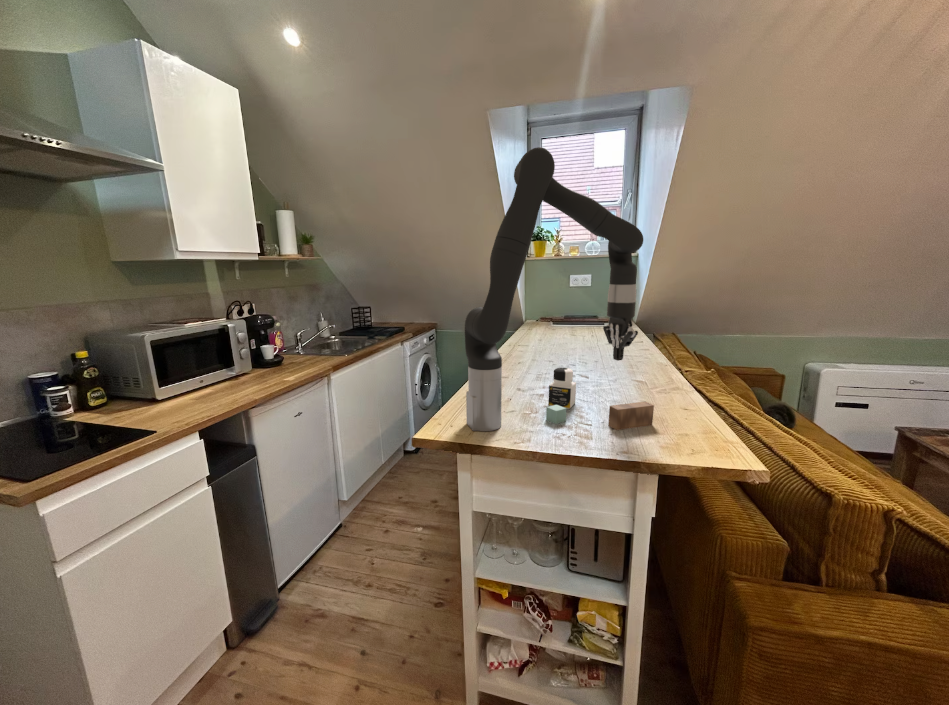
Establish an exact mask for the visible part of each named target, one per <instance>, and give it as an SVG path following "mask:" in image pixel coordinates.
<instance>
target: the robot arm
mask: <svg viewBox="0 0 949 705" xmlns="http://www.w3.org/2000/svg"><path fill="white" fill-rule="evenodd" d="M555 170H556V169H555V160H554V157H553V155H552V153H551V152H550V150H548V149H547V148H545V147H542V146H541V147H538V146H537V147H534V148H531V149H530V150H528V151H527V152H525V154H524V155H523V156H522V157H521V158H520V160H519V161H518V163H517V164H516V166H515V168H514V172H513V179H514V182H515V185H516V187H515V190H514V195H513V197H512V201H511V203H510V205H509V207H508V209H507V211H506V213H505V215H504V217H503V219H502V221H501V223H500V226H499V229H498V230H497V233H496V235H495V236H496V237H495V239H494V243H493V246H492V249H491V253H490V258H489V273H490V275H489V276H490V277H489V288H488V292H487V295H486V299H485V302H484V305H483V306H479V307H474V308H473V309H471V310H470V311H469V312H468V313H467V315H466V318H465V321H464V345H465V349H464V350H465V356H466V358H467V362H468V364H467V366H468V367H467V370H468V372H467V374H468V380H467V381H468V382H467V384H468V391H466V392H465V393H466V396H465V398H466V400H465V401H466V405H465V406H466V407H465V408H466V411H465V412H466V415H465V416H466V425H467V426H468V427H469V428H470V429H471V431H473V432H475V431H479V432H480V431H481V432H491V431H496V430H498V429H500V428H501V426H502V384H503V383H502V382H503V381H502V378H503V377H502V372H503V369H502V368H503V359H502V355H501V354H500V353H499V350H498V348H497V344H498V343H499V342H500V341H502V339H503V338H504V336H505V334H506V333H507V329H508V326H509V322H510V316H511V311H512V306H513V301H514V298H515V294H516V291H517V287H518V284H519V282H520V277H521V274H522V271H523V268H524V265H525V263H526V259H527V256H528V253H529V250H530V246H531V242H532V239H533V235H534V232H535V228H536V224H537V220H538V216H539V211H540V208H541V206H542V202H544V203H546V204H548V205H550V206H551V207H553V208H555V209H556V210H559V211H560V212H561V213H563V214H565V215H567V217H569V218H570V219H572V220H574V221H575V222H576V223H577V224H579V225H580V226H582V227H583V228H584V229H585V230H587V231H588V232H590V233H591V234H592V235H594V236H596V237H598V238H599V237H600V238H603V239H606V241H608V242H607V244H608V245H607V251H608V252H607V253H608V260H609V267H610V273H609V286H608V292H607V306H606V316H607V317H608V318H609V320H608V323H607V325H603V327H602V329H603V331H604V335H605V337H606V340H607V342H608V344H609V345H611V346H612V347H613V348H612V356H613V357H612V359H613V360H614V361H622V360H624V354H625V353H624V352H625V348H626V347H630V346H631V344H632V342H634V340H635V339H636V337H637V336H638V335H639V331H638V330H635V329H634V328H633V321H632V319H633V318H635V314H636V304H637V303H636V302H637V274H638V273H637V272H638V268H637V265H636V264H635V263H633V262H634V261H633V255H632V254H633V253H636V252H637V251H639V250H640V249H641V247H642V246H643V244H644V234H643V233H642V231H641V230H640V228H638V227H637V226H636V225H635V224H633V223H631V222H629V221H627V220H625V219H623V218H622V217H619V216H617V215H615V214H613V213H612V212H611V211H610V210H609V209H607V207H605V206H603V205H602V204H600V203H599V201H596V200H595V199H593V198H592V197H590V196H588V195H585V194H582V193H580V192H577V191H575V190H573V189H571V188H569V187H567V186H565V185H563V184H561V183H560V182H558V181H557V180H556V179H555V178H554V174H555Z"/></svg>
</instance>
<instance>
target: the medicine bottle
mask: <svg viewBox="0 0 949 705" xmlns="http://www.w3.org/2000/svg"><path fill="white" fill-rule="evenodd" d="M573 376H574V371H573V370H572V369H571V368H569V367H557V368H555V369H553V382H551V383H549V386H548V407H549V406H553V405H559V406H562V407H564V408H566V410H570V409H571V408H572V407H573V406H574V404H575V403H576V397H577V396H576V395H577V382H576V381H573Z"/></svg>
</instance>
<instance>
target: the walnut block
mask: <svg viewBox="0 0 949 705" xmlns="http://www.w3.org/2000/svg"><path fill="white" fill-rule="evenodd" d="M654 409H655V405H654V404H651V403H649V402H647V401H640V402H629V403H623V404H612V405H609V411H608V424H607V425H608V426H609V427H610V428H611V429H613V430H615V431H619V430H625V429H626V430H627V429H633V428H640V427H646V426H647V427H649V426H652V425H653V420H654Z"/></svg>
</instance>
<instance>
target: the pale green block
mask: <svg viewBox="0 0 949 705" xmlns="http://www.w3.org/2000/svg"><path fill="white" fill-rule="evenodd" d="M545 413H546V414H545V415H546V416H545V420H546V421H549V422H551V423H552V424H555V425H557V424H561V423H564V422H566V421H567V408H564V407H562V406H559V405H553V406H549V405H548V406H546V412H545Z"/></svg>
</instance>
